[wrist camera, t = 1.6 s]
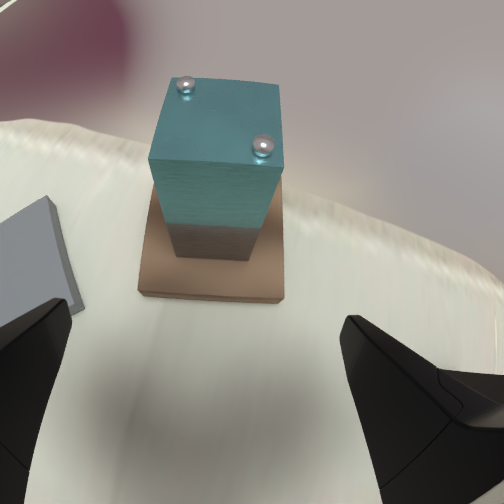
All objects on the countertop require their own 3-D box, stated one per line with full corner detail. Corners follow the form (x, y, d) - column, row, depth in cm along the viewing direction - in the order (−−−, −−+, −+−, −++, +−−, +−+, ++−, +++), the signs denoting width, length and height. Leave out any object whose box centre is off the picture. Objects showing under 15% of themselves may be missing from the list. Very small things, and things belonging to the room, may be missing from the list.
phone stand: (377, 427, 20) (486, 454, 9) (409, 364, 22) (521, 351, 11) (439, 455, 19) (534, 474, 8) (464, 400, 21) (561, 397, 10)
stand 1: (84, 308, 20) (74, 303, 18) (-1, 352, 17) (-14, 350, 16) (55, 206, 23) (46, 195, 21) (-20, 252, 20) (-31, 245, 18)
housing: (248, 261, 21) (286, 161, 10) (176, 257, 20) (146, 152, 10) (249, 198, 23) (280, 78, 12) (183, 194, 22) (171, 71, 12)
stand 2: (278, 303, 22) (284, 298, 20) (143, 296, 21) (137, 289, 19) (276, 187, 26) (281, 174, 24) (160, 180, 25) (157, 166, 23)
